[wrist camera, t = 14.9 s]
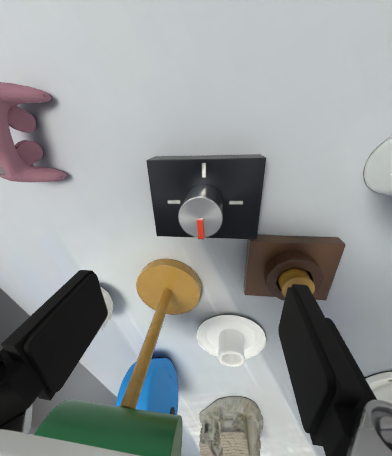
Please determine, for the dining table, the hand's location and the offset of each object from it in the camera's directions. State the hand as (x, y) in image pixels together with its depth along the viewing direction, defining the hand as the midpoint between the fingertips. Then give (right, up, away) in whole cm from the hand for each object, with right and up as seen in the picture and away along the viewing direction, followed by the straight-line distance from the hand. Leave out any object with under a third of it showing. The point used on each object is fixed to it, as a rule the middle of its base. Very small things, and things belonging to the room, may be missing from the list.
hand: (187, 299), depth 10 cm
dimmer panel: (+2, +8, +15) cm, 17 cm away
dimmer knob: (+1, +6, +12) cm, 14 cm away
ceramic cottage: (+9, -42, +38) cm, 57 cm away
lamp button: (+13, -3, +15) cm, 20 cm away
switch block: (+13, -2, +18) cm, 22 cm away
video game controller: (-18, +15, +14) cm, 27 cm away
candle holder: (+7, -16, +26) cm, 31 cm away
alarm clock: (-7, -25, +32) cm, 42 cm away
